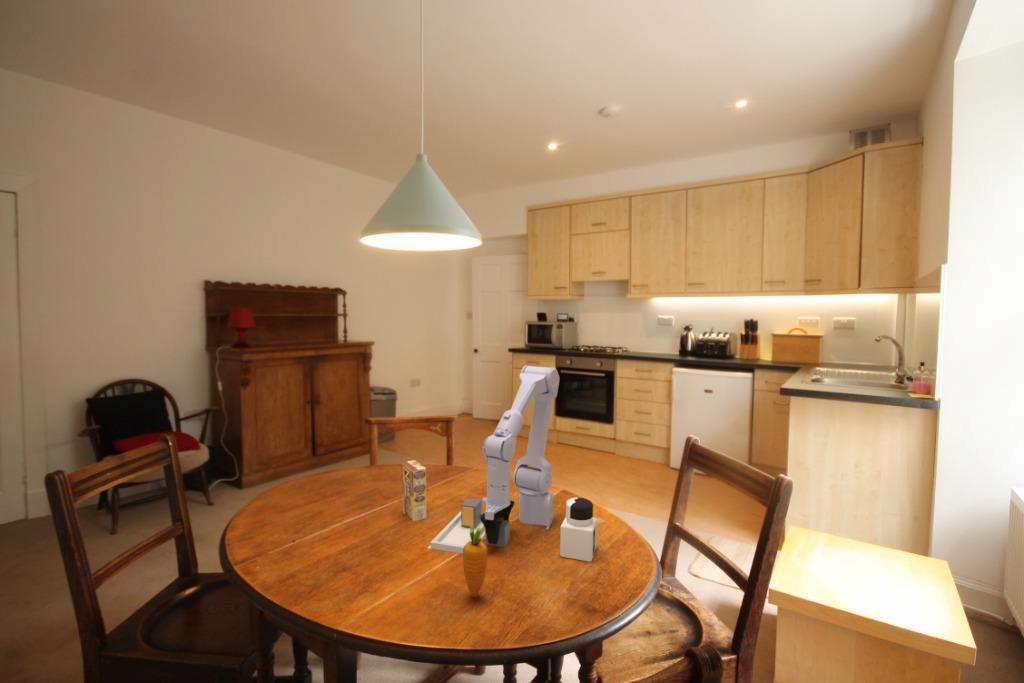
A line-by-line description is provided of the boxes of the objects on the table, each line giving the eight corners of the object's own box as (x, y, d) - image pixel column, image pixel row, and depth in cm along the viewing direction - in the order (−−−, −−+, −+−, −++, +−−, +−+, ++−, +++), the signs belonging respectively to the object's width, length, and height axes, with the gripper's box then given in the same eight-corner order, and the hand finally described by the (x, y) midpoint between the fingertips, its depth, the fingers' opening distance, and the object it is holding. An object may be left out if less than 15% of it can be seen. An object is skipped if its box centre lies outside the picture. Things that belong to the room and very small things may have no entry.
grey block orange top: (504, 551, 115) (505, 527, 115) (484, 548, 116) (484, 524, 116) (509, 543, 119) (509, 520, 118) (489, 541, 120) (489, 518, 120)
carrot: (462, 590, 98) (463, 520, 97) (486, 589, 99) (487, 520, 98) (462, 605, 93) (462, 531, 92) (487, 604, 94) (487, 531, 93)
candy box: (427, 521, 131) (427, 467, 130) (413, 524, 129) (413, 470, 128) (415, 510, 139) (415, 459, 138) (401, 513, 136) (401, 461, 136)
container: (596, 547, 117) (597, 497, 117) (591, 562, 110) (592, 508, 109) (566, 542, 120) (567, 493, 119) (559, 557, 113) (560, 504, 112)
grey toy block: (481, 521, 130) (481, 499, 129) (474, 529, 124) (474, 507, 124) (468, 519, 131) (468, 498, 130) (460, 527, 125) (460, 505, 125)
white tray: (495, 523, 130) (495, 514, 130) (469, 558, 111) (469, 548, 111) (458, 518, 133) (458, 510, 133) (427, 552, 114) (427, 542, 114)
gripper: (492, 472, 125) (491, 522, 125) (473, 491, 111) (472, 547, 111) (517, 475, 123) (516, 525, 123) (501, 495, 109) (500, 551, 110)
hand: (497, 536), depth 117 cm, fingers open, 7 cm apart
